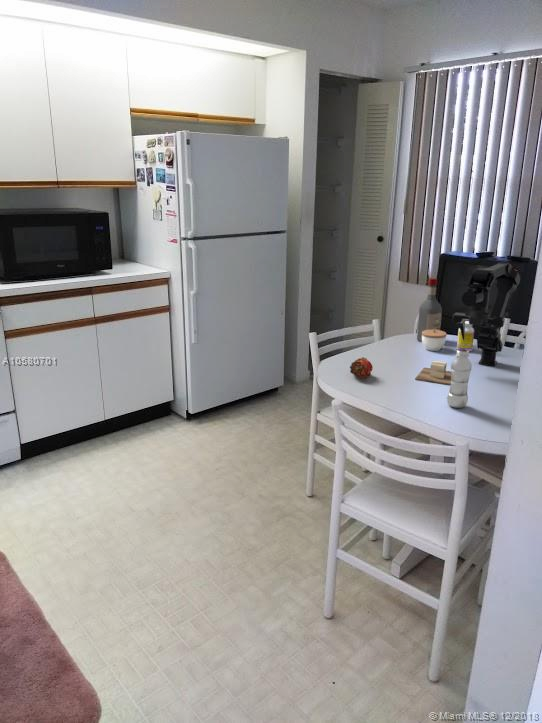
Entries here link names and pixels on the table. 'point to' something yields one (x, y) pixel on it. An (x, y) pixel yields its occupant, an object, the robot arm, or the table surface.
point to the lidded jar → (433, 339)
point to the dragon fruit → (361, 368)
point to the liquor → (429, 311)
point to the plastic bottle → (459, 379)
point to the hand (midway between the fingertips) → (475, 340)
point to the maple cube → (438, 369)
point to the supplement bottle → (466, 337)
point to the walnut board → (425, 376)
